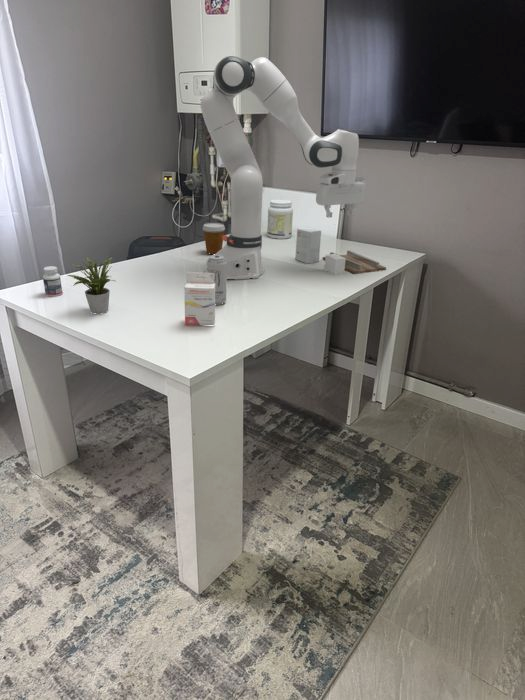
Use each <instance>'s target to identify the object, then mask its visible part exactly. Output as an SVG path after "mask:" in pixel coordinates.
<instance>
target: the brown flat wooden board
mask: <svg viewBox="0 0 525 700" xmlns="http://www.w3.org/2000/svg"><path fill="white" fill-rule="evenodd" d="M329 253H330V254H337V253H335V252H334V251H331V252H329ZM337 255H339V256H341V257H344V258H346V260H345V269H344V271H347V272H348V273H350V274H352V275H357V274H364V273H365V272H366V273H371V271H373V272H379V270H381V271H386V270H387V267H386V266H383V265H382V264H380V262H379V261H376V260H374V259H371V258H368V257H367V256H364V255H362V254H359V253H357V252H355V251H352V250H349V249H348V250H347V251H346V254H337ZM325 258H326V256H323V257H322V260H323V261H324V262H325Z"/></svg>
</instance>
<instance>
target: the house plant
mask: <svg viewBox="0 0 525 700" xmlns="http://www.w3.org/2000/svg"><path fill="white" fill-rule="evenodd" d="M113 259H114V257H110V258H109V259H106V260H102V262H101V263H100V265H99V268H98V263H97V260H96V259H94V261H93V263H92V261H91V259H89V257H86V260H87V263H88V264H87V263H84V262H83V261H81V263H82V264H84V265H85V266H86V268H87V269H88V270H89V271H88V270H87V269H86V268H84V266H83V267H82V266H81V265H79V264H74V263H71V265H72V266H75V267H77V268H76V270H77V271H80V272H81V273H83V274H84V276H85V277H82V276H79V275H75V274H67V276H68V277H71V278H73V279H74V280H77V281H76V282H74V283H73V287H74V286H76V285H78V284H79V285H80V284H83V285H84V286H86V287H87V290H85V291H84V294H85V297H86V301H87V304H88V307H89V310H90V313H91V312H92V314H93V313H96V314H95V315H101V313H103V314H106V313H108V312H107V311H109V306H110V304H109V303H110V292H111V291H110V289H109V288H107V287H105V286H106V284H107V283H109V282H112V281H113V282H116V280H115V279H110V278H112V275H107V274H108V272H110V270H111V268H112V266H113V265H111V266H110V264H111V260H113ZM93 264H94V265H93ZM109 266H110V267H109ZM108 267H109V269H108ZM101 268H102V269H101ZM79 269H80V270H79ZM107 269H108V270H107ZM109 277H110V278H109Z"/></svg>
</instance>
